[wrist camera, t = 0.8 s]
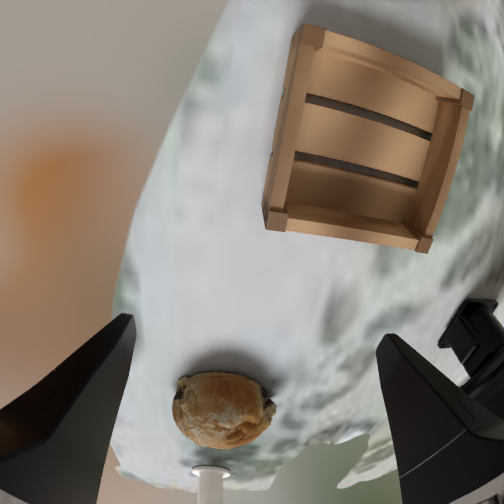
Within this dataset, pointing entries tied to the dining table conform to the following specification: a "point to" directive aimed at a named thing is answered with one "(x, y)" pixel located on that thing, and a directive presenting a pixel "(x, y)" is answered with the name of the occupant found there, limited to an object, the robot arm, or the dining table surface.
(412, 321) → the dining table surface
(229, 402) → the bread roll
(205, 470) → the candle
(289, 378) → the dining table surface
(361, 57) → the crate
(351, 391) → the dining table surface
